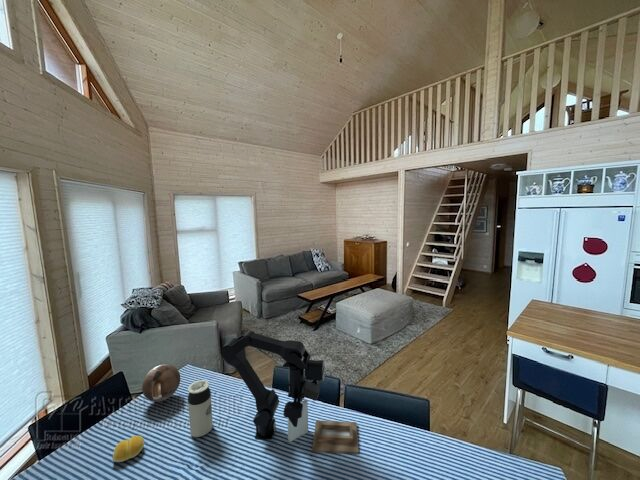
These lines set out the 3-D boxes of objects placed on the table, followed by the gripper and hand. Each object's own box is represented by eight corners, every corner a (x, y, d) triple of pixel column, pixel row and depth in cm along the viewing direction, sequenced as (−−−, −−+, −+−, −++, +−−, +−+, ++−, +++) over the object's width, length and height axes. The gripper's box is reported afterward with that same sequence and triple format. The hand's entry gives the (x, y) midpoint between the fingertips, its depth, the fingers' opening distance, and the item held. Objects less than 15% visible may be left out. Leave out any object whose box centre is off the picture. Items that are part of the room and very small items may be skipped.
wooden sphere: (159, 386, 129) (156, 357, 127) (188, 387, 127) (186, 358, 126) (135, 408, 114) (132, 376, 112) (167, 410, 112) (164, 377, 111)
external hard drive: (308, 431, 100) (308, 401, 99) (289, 442, 95) (288, 410, 94) (306, 429, 101) (305, 399, 100) (287, 439, 97) (286, 408, 96)
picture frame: (312, 452, 91) (312, 444, 91) (316, 422, 104) (315, 415, 104) (358, 454, 90) (358, 446, 90) (356, 424, 103) (356, 417, 102)
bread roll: (144, 453, 91) (142, 443, 91) (112, 467, 87) (110, 457, 86) (145, 436, 98) (144, 426, 98) (115, 448, 94) (114, 438, 93)
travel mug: (185, 434, 100) (182, 390, 98) (202, 419, 107) (199, 377, 106) (201, 440, 97) (198, 395, 95) (217, 424, 104) (214, 382, 103)
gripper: (315, 395, 86) (316, 439, 88) (320, 363, 105) (321, 400, 106) (282, 394, 87) (283, 437, 89) (293, 362, 106) (294, 398, 107)
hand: (297, 416), depth 98 cm, fingers open, 9 cm apart
